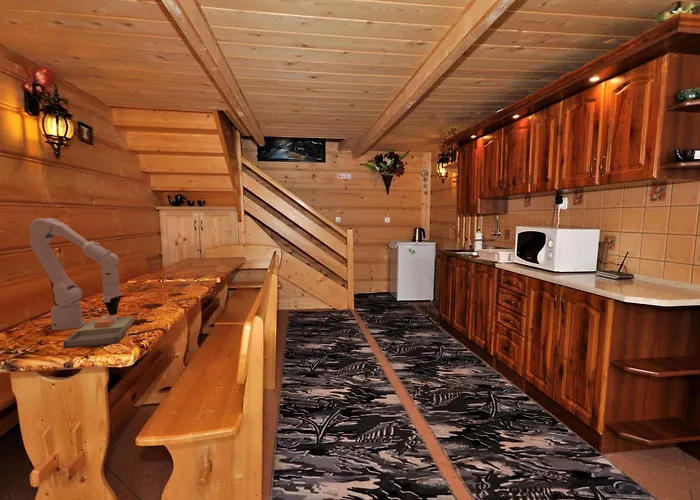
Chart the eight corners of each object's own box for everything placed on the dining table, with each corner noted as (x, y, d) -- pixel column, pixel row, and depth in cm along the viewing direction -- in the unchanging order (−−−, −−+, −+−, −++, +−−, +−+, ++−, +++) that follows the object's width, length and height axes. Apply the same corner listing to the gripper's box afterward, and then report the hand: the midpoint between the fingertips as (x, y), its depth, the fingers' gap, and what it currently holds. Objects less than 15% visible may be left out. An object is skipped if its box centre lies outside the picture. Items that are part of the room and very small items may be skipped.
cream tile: (99, 324, 146) (98, 319, 145) (103, 320, 150) (103, 315, 150) (114, 322, 147) (113, 317, 147) (117, 319, 152) (117, 314, 152)
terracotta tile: (94, 328, 140) (94, 323, 140) (98, 324, 145) (98, 319, 145) (109, 327, 142) (109, 321, 142) (113, 323, 147) (113, 318, 146)
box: (63, 348, 127) (63, 341, 127) (76, 337, 137) (75, 331, 137) (117, 343, 132) (117, 336, 132) (125, 333, 142) (125, 327, 142)
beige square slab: (77, 337, 138) (77, 330, 137) (91, 325, 152) (91, 319, 152) (124, 333, 142) (123, 326, 142) (133, 322, 156) (133, 316, 156)
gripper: (117, 285, 148) (119, 319, 149) (126, 279, 161) (128, 310, 163) (96, 287, 145) (99, 321, 147) (107, 280, 159) (109, 311, 161)
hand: (113, 315), depth 155 cm, fingers closed
